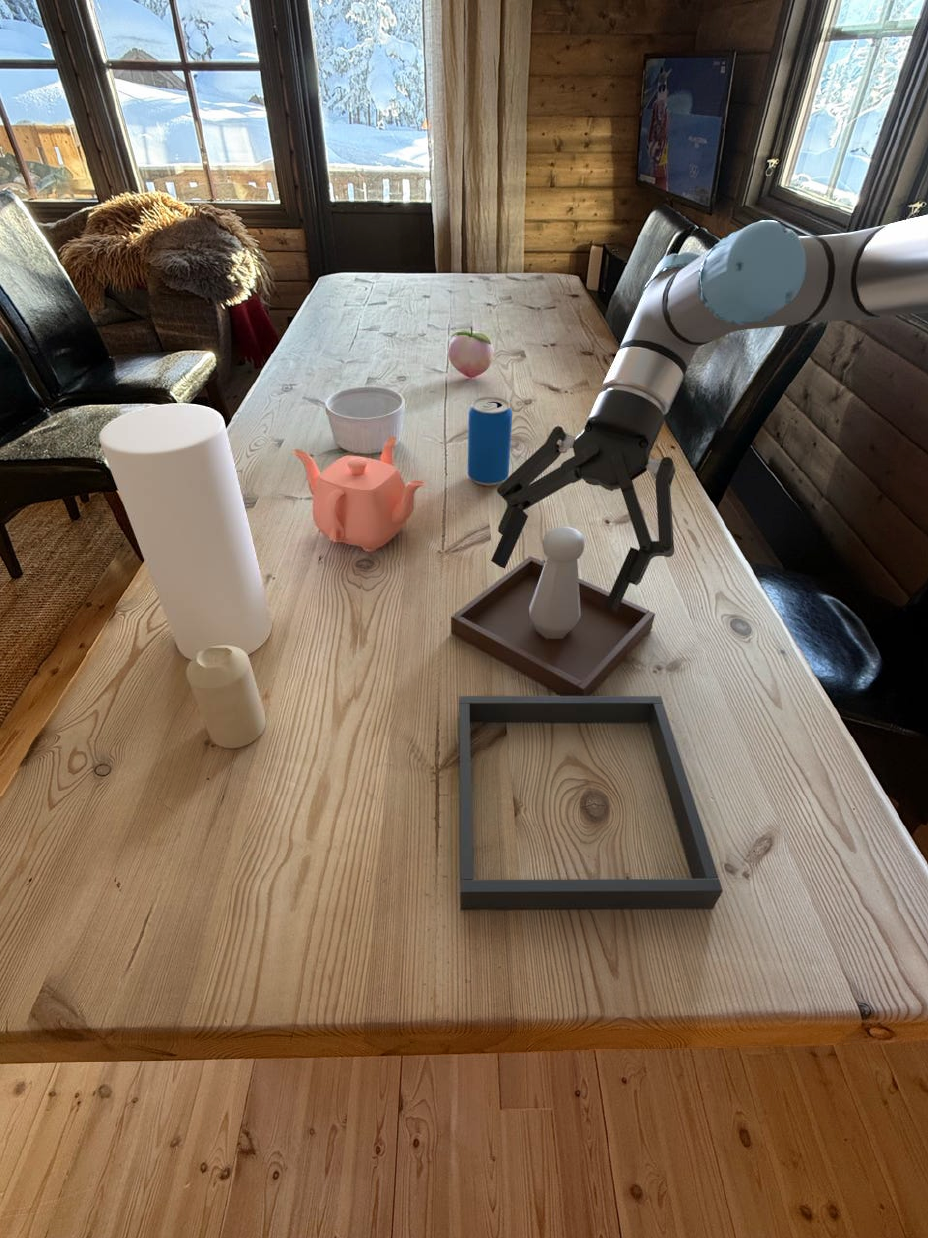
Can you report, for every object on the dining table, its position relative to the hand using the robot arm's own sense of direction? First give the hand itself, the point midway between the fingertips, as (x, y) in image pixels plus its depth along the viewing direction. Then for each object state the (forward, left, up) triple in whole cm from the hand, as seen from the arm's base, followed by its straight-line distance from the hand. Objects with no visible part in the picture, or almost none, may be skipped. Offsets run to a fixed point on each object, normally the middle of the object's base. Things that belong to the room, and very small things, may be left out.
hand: (551, 586), depth 70 cm
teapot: (+32, -3, -8) cm, 33 cm away
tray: (0, -2, -8) cm, 8 cm away
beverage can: (+28, -26, -8) cm, 39 cm away
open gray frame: (-14, +16, -8) cm, 23 cm away
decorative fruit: (+57, -57, -8) cm, 81 cm away
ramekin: (+52, -23, -8) cm, 57 cm away
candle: (+16, +30, -8) cm, 35 cm away
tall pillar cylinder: (+29, +23, -8) cm, 38 cm away
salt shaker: (0, -2, -7) cm, 8 cm away
